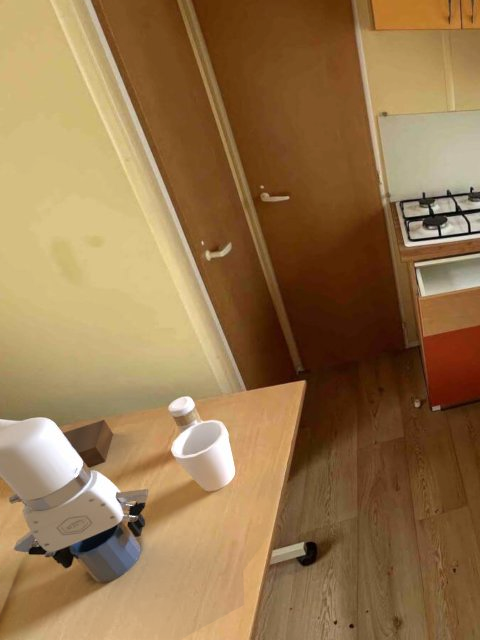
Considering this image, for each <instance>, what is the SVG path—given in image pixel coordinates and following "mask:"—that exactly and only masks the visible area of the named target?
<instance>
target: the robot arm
mask: <svg viewBox="0 0 480 640" xmlns="http://www.w3.org/2000/svg"><path fill="white" fill-rule="evenodd" d="M63 433H64V432H63V431H62V430H61V429H60V427H59V426H58V424H57V423H56V422H54V421H53V420H52V419H50V418H47V417H42V416H41V417H40V416H39V417H30V418H27V419H23V420H11V419H1V418H0V477H1V479H2V480H3V481H4V483H6V484H7V485H8V487H10V489H11V490H12V491H13V492H14V493H13V494H10V495H9V497H8V501H9V504H11V505H13V504H15V503H22V504H23V508H22V514H23V518H24V521H25V523H26V525H27V527H28V528H29V531H28V532H27V533H26V534H24V535H23V536H21V538H19V539H17V541H16V542H15V544H14V548H13V550H14V551H15V552H21V553H27V554H28V555H29V556H42V555H43V556H44V558H45V559H46V558H47V559H49V558H53V560H54V561H55V562H56V563H57V564H58V565H59V564H60V565H61V566H62V567H63V568H64V569H69V568H71V566H72V565H73V562H74V559H75V557H74V556H73V555H72V553H71V551H70V545H72V544H75V543H77V542H80V541H82V540H84V539H87V538H89V537H91V536H94V535H96V534H98V533H101V532H103V531H105V530H107V529H110V528H112V527H114V526H115V525H117V524H118V523H120V522H121V521H123V522H124V523H126V522H127V523H126V524H127V525H126V527H127V528H128V529H129V531H130V532H131V534H132V535H133V536H134V538H139V537H141V536H142V533H143V528H146V527H145V526H146V519H145V517H144V516H143V515H142V512H143V510H144V509H145V508H146V505H147V500H148V495H149V489H147V488H145V489H137V490H127V491H121V490H120V489H119V488H118V486H116V484H115V483H114V482H112V481H111V480H110V479H109V478H108V477H107V476H105V475H104V474H102V473H101V472H99V471H98V470H95V469H93V470H91V469H90V467H87V465H86V464H85V463H84V461H83V460H82V459H81V457H80V456H79V455H78V453H77V452H76V450H75V449H74V448H73V446H72V445H71V444H70V442H69V441H68V440H67V438H66V437H65V436H64V434H63ZM130 502H131V503H130ZM133 502H135V503H133ZM126 512H128V513H126Z"/></svg>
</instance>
